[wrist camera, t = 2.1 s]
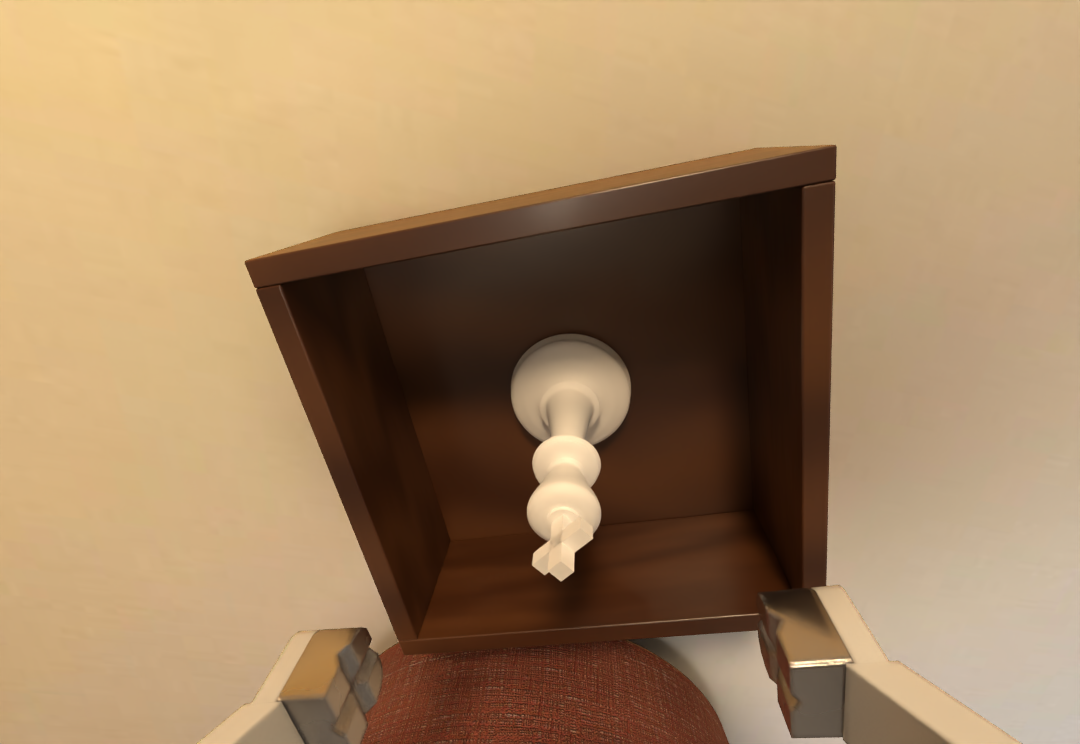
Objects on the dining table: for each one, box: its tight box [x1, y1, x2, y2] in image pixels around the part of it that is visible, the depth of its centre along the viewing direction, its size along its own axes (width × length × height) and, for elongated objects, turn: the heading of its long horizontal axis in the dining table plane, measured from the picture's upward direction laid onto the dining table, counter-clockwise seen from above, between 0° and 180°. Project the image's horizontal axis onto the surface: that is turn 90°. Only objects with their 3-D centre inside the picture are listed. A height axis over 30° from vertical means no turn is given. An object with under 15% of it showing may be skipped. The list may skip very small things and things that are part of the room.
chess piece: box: [511, 334, 631, 581], centre depth 17 cm, size 5×5×10 cm
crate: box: [245, 145, 836, 655], centre depth 19 cm, size 16×16×6 cm
